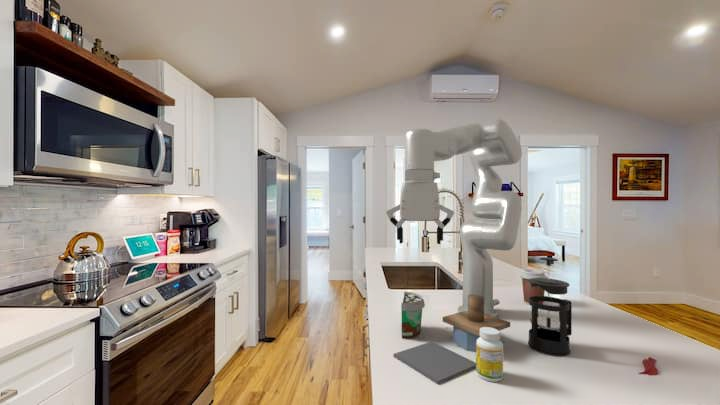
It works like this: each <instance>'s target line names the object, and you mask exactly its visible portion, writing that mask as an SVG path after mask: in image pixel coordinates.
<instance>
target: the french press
mask: <svg viewBox="0 0 720 405" xmlns="http://www.w3.org/2000/svg"><path fill="white" fill-rule="evenodd" d="M539 260H540V261H546V266H547V277H548V278H531V279H529V282H530V283H531V287H536V286H540V287H541V288H542V289H544V290H545V292H547V296H546V295H544V296H532V297H529V306H531V318H529V321H530V324H531V328H530V329H529V330H528V340H527V346H528V347H529V348H531V349H532V350H534V351H536V352H538V353H540V354H543V355H547V356H553V357H567V356H569V355H571V348H570V337H569V336H572V328H573V327H572V318H573V317H572V311H573V310H572V301H571V300H568V299H562V298H559V297H553V296H550V295H558V296H559V295H567V294H568V287H570V283H569V282H567V281H565V280H560V279H556V278H555V279H554V278H550V267H551V264H552V262H558V261H559V259H557V258H556V257H555V258H553V257H545V256H544V257H543V256H542V257H540V258H539ZM538 301H544V302H547V304H539V303H538ZM550 303H553V304H557V305H550ZM539 310H542V311H547V317H545V316H539ZM550 312H553V313H554V312H555V313H557V312H558V319H557V318H551V317H550Z"/></svg>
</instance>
